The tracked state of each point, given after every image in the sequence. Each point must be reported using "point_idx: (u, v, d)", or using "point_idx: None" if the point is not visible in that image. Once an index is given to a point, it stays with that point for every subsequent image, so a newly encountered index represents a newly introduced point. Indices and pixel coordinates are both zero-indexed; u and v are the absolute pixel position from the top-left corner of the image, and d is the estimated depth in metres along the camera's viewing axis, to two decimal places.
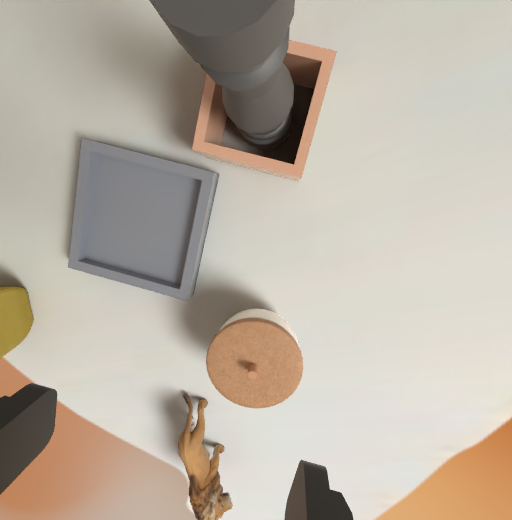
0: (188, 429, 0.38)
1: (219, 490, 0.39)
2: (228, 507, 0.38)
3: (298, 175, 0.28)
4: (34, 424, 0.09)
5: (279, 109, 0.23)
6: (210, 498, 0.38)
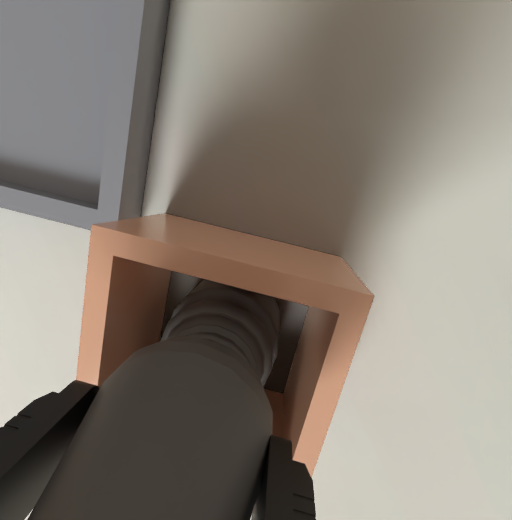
0: None
1: None
2: None
3: None
4: (81, 418, 0.09)
5: None
6: None
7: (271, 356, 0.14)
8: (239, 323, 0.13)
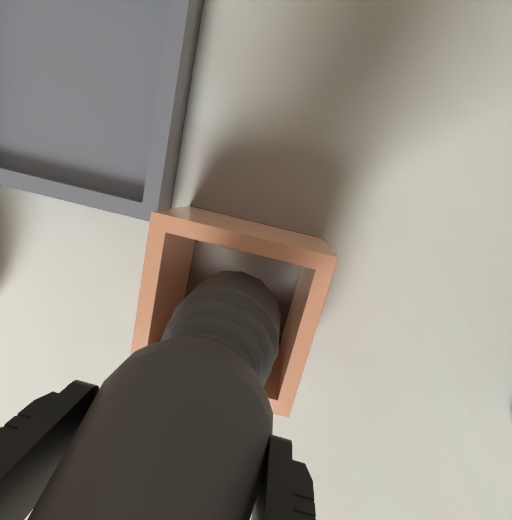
0: None
1: None
2: None
3: None
4: (81, 417, 0.09)
5: None
6: None
7: (271, 356, 0.14)
8: (239, 323, 0.13)
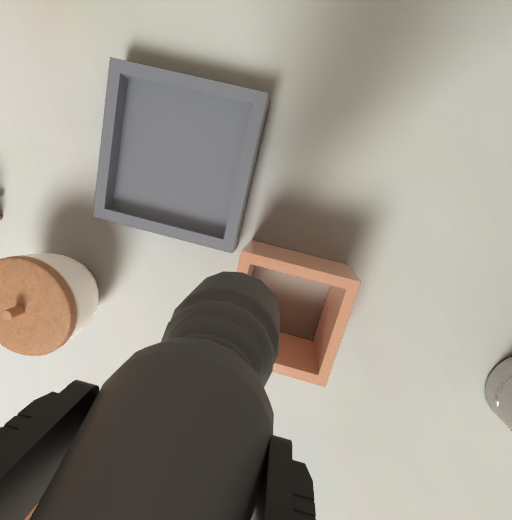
0: None
1: None
2: None
3: None
4: (81, 418, 0.09)
5: None
6: None
7: (272, 357, 0.14)
8: (239, 324, 0.13)
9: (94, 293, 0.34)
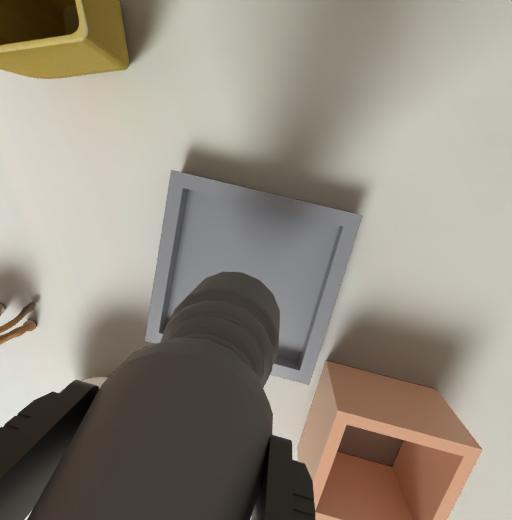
0: None
1: None
2: None
3: None
4: (81, 418, 0.09)
5: None
6: None
7: (271, 357, 0.14)
8: (238, 324, 0.13)
9: None
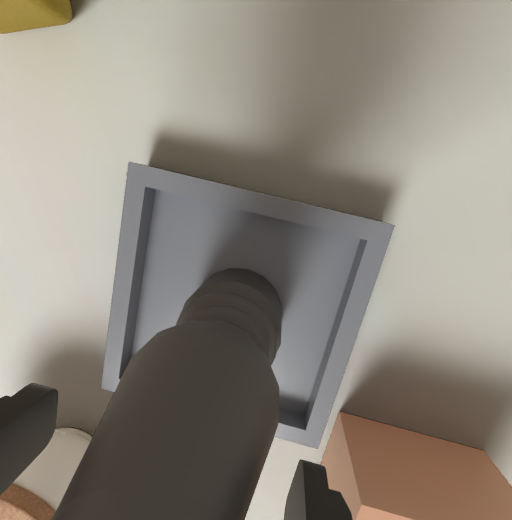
0: None
1: None
2: None
3: None
4: (35, 424, 0.09)
5: None
6: None
7: (275, 343, 0.16)
8: (246, 313, 0.15)
9: None
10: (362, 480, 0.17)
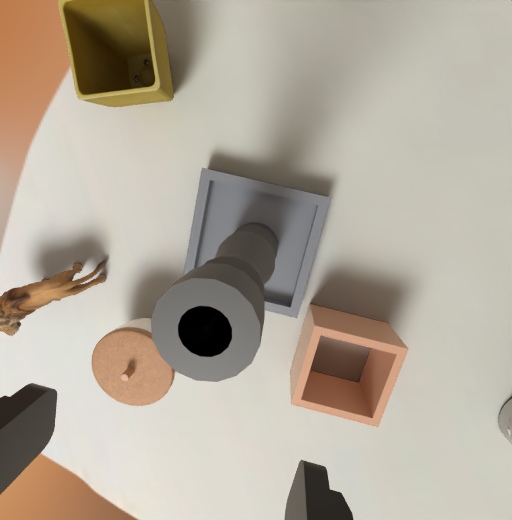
0: (76, 284, 0.38)
1: (21, 318, 0.40)
2: (9, 333, 0.39)
3: (292, 402, 0.37)
4: (34, 424, 0.09)
5: None
6: (13, 318, 0.38)
7: (274, 251, 0.34)
8: (261, 236, 0.33)
9: None
10: (316, 320, 0.36)
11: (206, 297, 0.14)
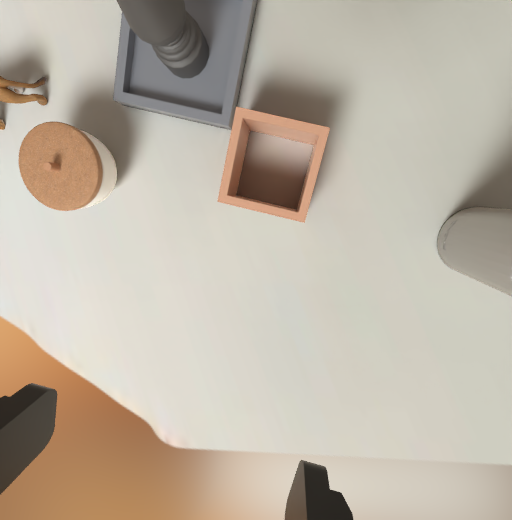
0: (9, 84, 0.38)
1: None
2: None
3: (219, 199, 0.37)
4: (34, 424, 0.09)
5: (129, 20, 0.28)
6: None
7: (195, 30, 0.34)
8: None
9: (114, 166, 0.41)
10: None
11: None
